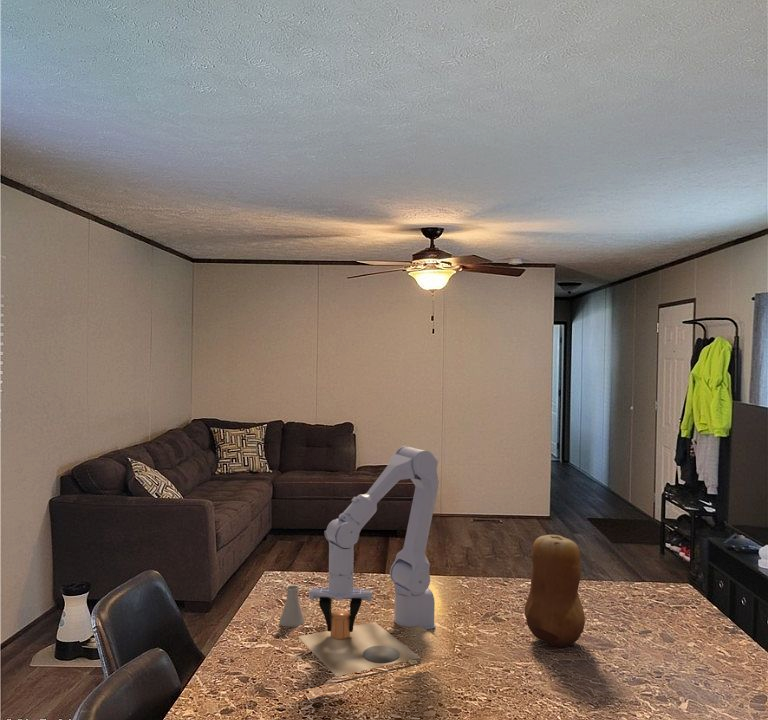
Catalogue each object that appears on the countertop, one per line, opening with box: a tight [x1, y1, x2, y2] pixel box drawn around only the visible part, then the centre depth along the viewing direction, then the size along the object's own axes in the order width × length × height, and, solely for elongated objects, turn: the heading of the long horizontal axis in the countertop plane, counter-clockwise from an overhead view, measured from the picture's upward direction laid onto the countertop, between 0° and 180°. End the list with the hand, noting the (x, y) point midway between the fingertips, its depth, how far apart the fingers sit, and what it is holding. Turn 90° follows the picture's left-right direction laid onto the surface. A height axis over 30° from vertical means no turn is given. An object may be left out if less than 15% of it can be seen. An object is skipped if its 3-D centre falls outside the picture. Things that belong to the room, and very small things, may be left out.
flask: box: [279, 584, 306, 628], centre depth 174 cm, size 7×7×10 cm
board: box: [297, 621, 421, 685], centre depth 160 cm, size 20×22×6 cm
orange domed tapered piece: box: [331, 609, 350, 639], centre depth 166 cm, size 4×4×5 cm
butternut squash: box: [524, 534, 586, 649], centre depth 167 cm, size 14×13×25 cm
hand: (340, 629), depth 166 cm, fingers closed on orange domed tapered piece, 4 cm apart
